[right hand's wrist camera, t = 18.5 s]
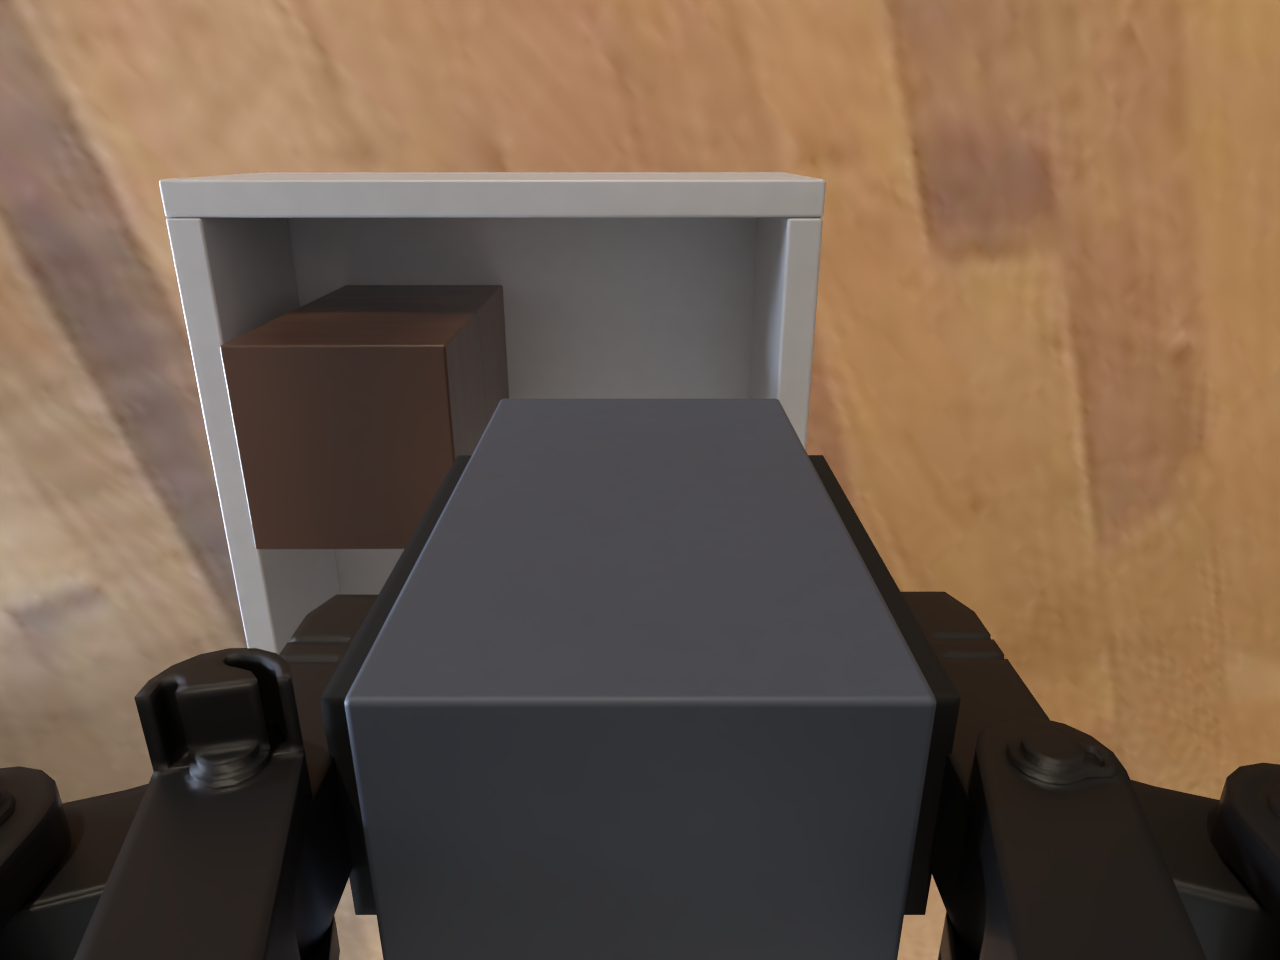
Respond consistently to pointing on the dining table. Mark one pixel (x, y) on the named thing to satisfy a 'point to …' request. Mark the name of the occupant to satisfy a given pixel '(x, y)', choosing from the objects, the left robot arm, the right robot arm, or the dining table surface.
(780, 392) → the grey tray
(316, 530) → the walnut block
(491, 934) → the slate block
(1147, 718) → the dining table surface
